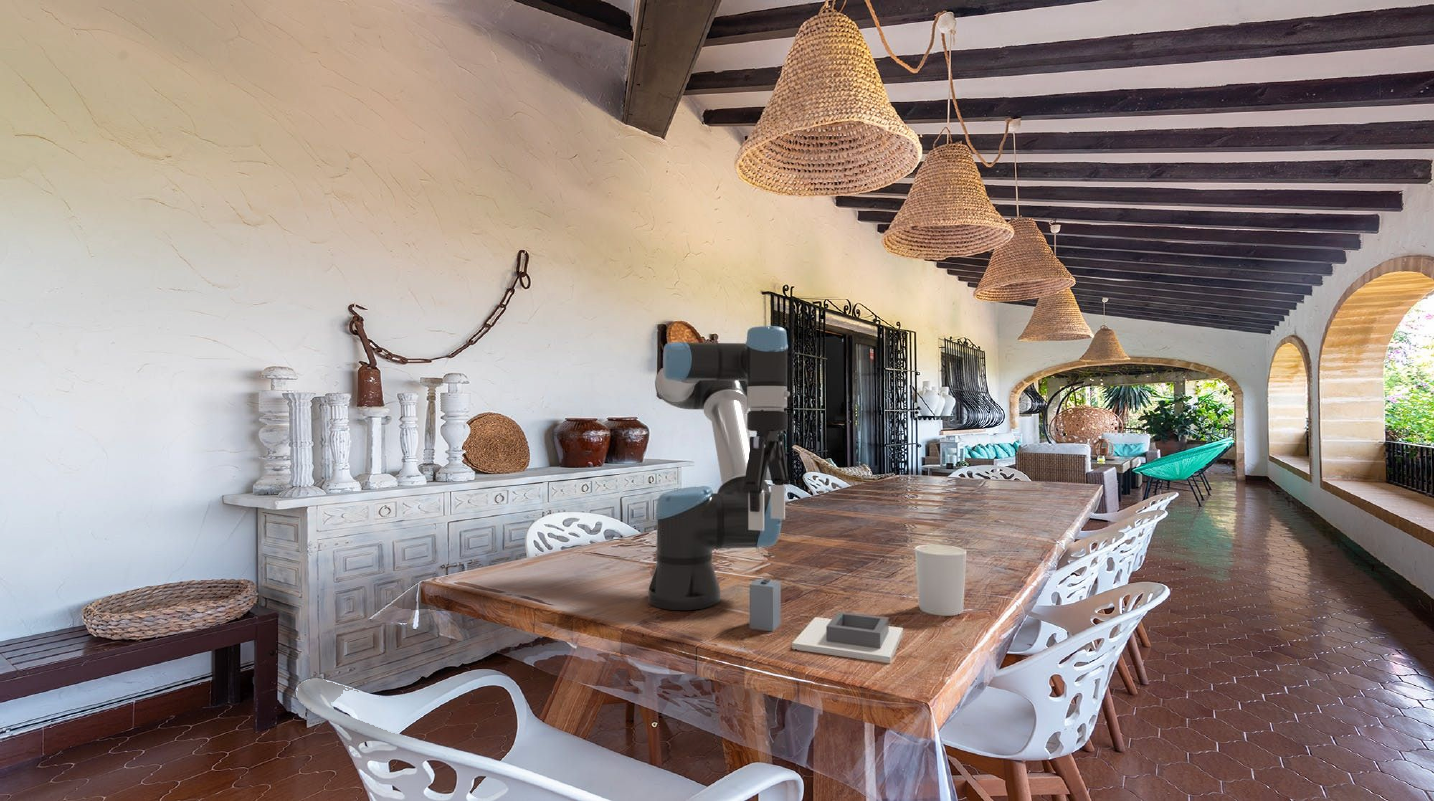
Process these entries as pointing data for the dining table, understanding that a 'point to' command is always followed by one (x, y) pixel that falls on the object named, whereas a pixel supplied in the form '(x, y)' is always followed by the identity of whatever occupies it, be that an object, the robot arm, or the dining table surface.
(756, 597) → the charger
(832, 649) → the charging dock
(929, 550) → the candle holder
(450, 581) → the dining table surface
